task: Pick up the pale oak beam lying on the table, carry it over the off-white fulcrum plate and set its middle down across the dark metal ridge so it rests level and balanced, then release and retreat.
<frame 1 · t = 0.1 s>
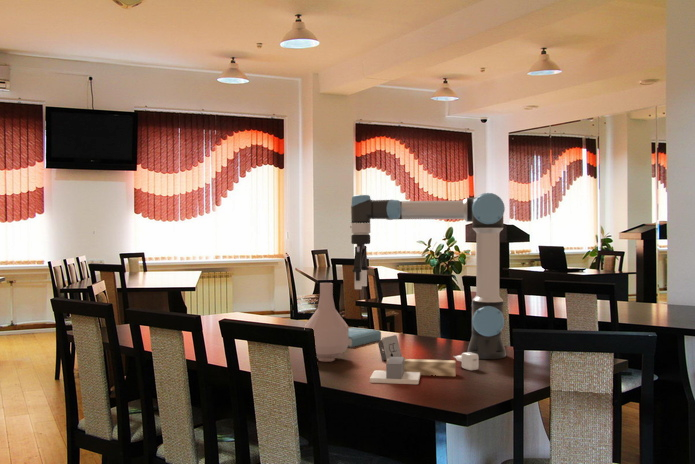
hand: (360, 287, 255), 28 cm above the table, fingers open, 13 cm apart
fulcrum: (395, 379, 219), on the table
electrical switch: (389, 359, 253), on the table
book: (352, 343, 293), on the table
power adapter: (465, 368, 238), on the table
beam: (421, 374, 228), on the table
vase: (326, 360, 253), on the table
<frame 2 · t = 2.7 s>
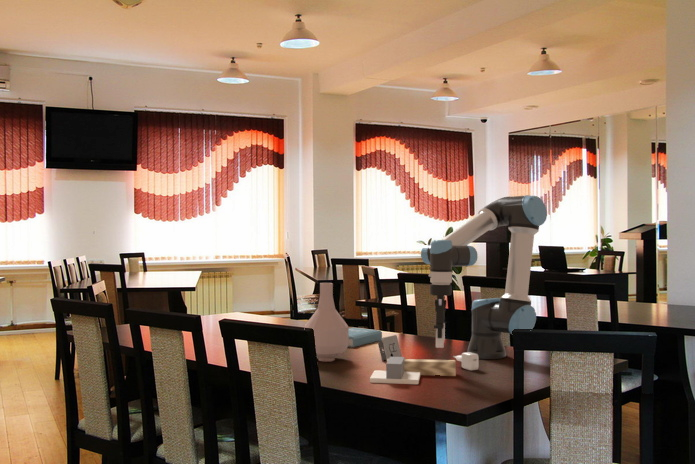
hand: (440, 344, 226), 11 cm above the table, fingers open, 13 cm apart
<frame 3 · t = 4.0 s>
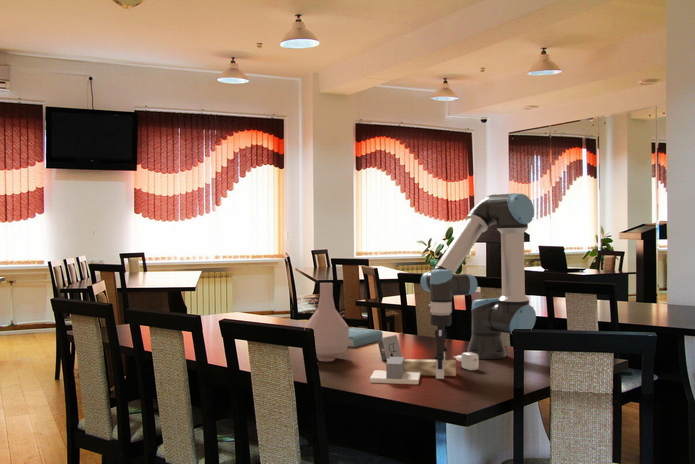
hand: (440, 374, 226), 0 cm above the table, fingers open, 13 cm apart
nothing on the table moved.
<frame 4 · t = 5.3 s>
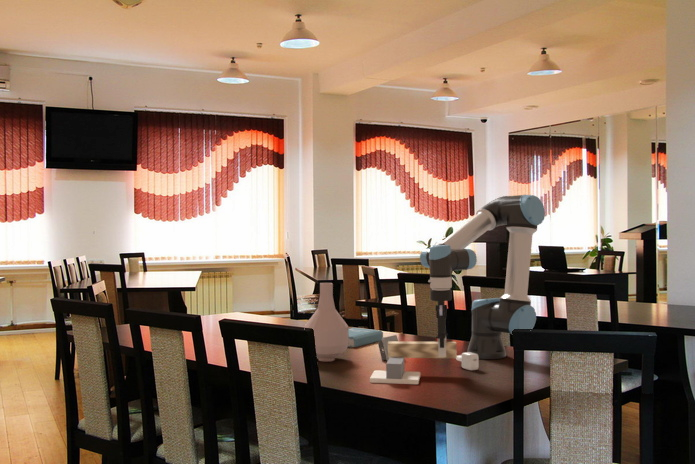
hand: (442, 355, 227), 7 cm above the table, fingers closed on beam, 4 cm apart
beam: (422, 356, 228), point 6 cm above the table, touching gripper
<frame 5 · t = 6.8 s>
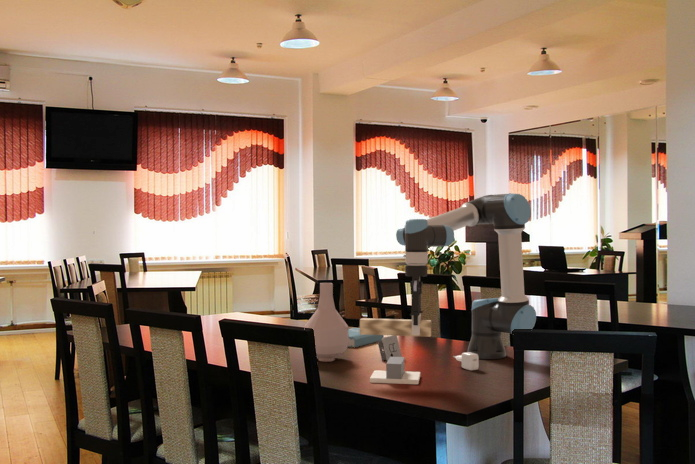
hand: (416, 333, 218), 16 cm above the table, fingers closed on beam, 4 cm apart
beam: (395, 334, 219), point 15 cm above the table, touching gripper
when the fingers open (8 cm above the table, at t = 8.7 s): beam drops 1 cm, resting on fulcrum.
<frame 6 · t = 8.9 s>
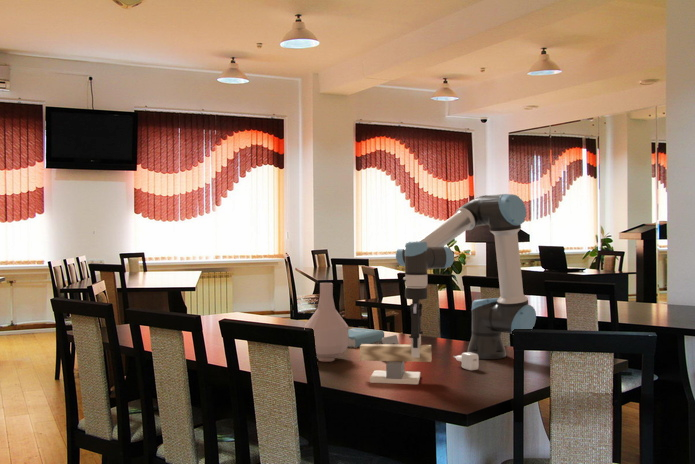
hand: (416, 355, 218), 8 cm above the table, fingers open, 6 cm apart
beam: (395, 360, 219), point 7 cm above the table, touching fulcrum
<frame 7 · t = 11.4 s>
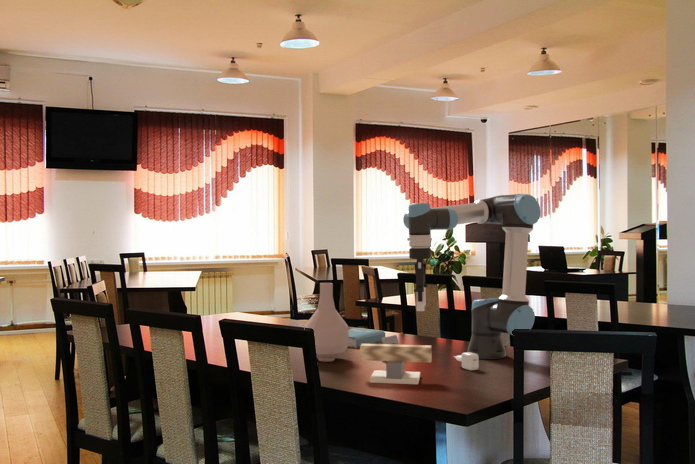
hand: (421, 308, 225), 23 cm above the table, fingers open, 13 cm apart
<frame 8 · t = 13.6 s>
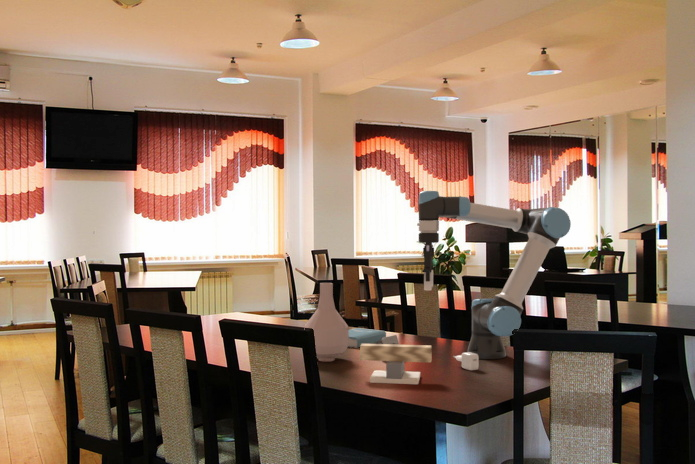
hand: (428, 288, 242), 29 cm above the table, fingers open, 13 cm apart
at the end: beam 0.1 cm off-centre on the fulcrum, point 6.5 cm above the fulcrum's base; beam tilted 0°; beam touching fulcrum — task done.
